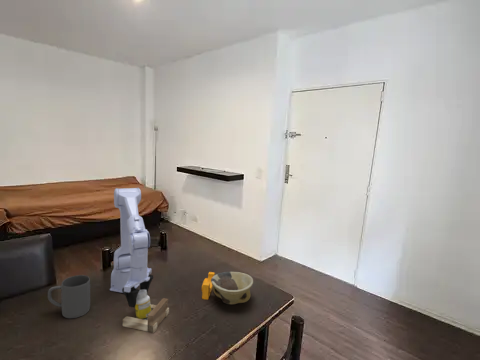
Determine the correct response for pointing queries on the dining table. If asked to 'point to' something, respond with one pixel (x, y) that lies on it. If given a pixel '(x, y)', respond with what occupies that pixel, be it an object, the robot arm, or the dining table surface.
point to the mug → (73, 296)
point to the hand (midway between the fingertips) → (138, 300)
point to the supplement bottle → (142, 305)
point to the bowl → (232, 286)
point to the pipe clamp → (207, 286)
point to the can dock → (149, 318)
